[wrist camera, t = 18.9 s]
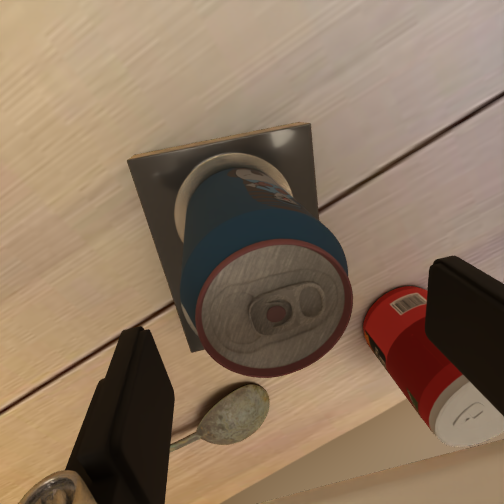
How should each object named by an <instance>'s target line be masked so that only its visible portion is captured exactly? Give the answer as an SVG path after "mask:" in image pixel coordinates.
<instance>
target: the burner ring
mask: <svg viewBox="0 0 504 504" xmlns="http://www.w3.org/2000/svg"><path fill="white" fill-rule="evenodd" d="M232 168H248V169H253V170H256V171H259V172H262V173H264V174H266V175H267V176H269V177H271V178H272V179H273V180H274V181H275V182H277V183H278V184H279V185H280V186H281V187H282V188H283V189H284V190H285V191H287V192H288V193H289V194H290V195H291V196H292V197H293V194H292V191H291V188H290V186H289V184H288V182H287V181H286V179H285V178H284V176H283V175H282V174H281V173H280V172H279V171H278V169H276V168H275V167H274V166H273V165H272V164H270V163H269V162H267V161H265V160H264V159H261V158H259V157H257V156H254V155H250V154H245V153H227V154H221V155H218V156H214V157H212V158H210V159H207V160H206V161H204V162H202V163H201V164H199V165H198V166H197V167H196V168H194V169H193V170H192V171H191V172H190V173H189V175H188V176H187V177H186V179H185V180H184V181H183V183H182V185H181V187H180V189H179V191H178V194H177V197H176V202H175V209H174V217H175V224H176V229H177V232H178V234H179V237H180V239H181V241H182V242H183V244H184V231H185V219H186V211H187V207H188V204H189V201H190V199H191V197H192V195H193V193H194V192H195V190H196V189H197V188H198V187H199V186H200V185H201V184H202V183H203V182H204V181H205V180H206V179H208V178H209V177H211V176H212V175H214V174H216V173H218V172H221V171H224V170H227V169H232Z"/></svg>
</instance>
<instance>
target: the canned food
mask: <svg viewBox="0 0 504 504" xmlns="http://www.w3.org/2000/svg"><path fill="white" fill-rule="evenodd" d="M426 304H427V290H425V289H422V288H419V287H414V286H405V287H400V288H397V289H394V290H391V291H390V292H388V293H386V294H384V295H383V296H382V297H380V298H379V299H378V300H377V301H376V302H375V303H374V304H373V305H372V306H371V308H370V309H369V311H368V312H367V314H366V316H365V320H364V324H363V330H364V335H365V339H366V342H367V344H368V345H369V347H370V348H371V350H372V351H373V352H374V354H375V355H376V356H377V358H378V359H379V360H380V362H381V363H382V365H383V366H384V367H385V369H386V370H387V371H388V373H389V374H390V376H391V377H392V378H393V380H394V381H395V382H396V384H397V385H398V387H399V388H400V389H401V391H402V392H403V393H404V395H405V396H406V397H407V399H408V400H409V402H410V403H411V404H412V406H413V407H414V408H415V410H416V411H417V412H418V414H419V415H420V417H421V418H422V419H423V420H424V421H425V423H426V424H427V426H428V427H429V428H430V430H431V431H432V432H433V433H434V434H435V435H436V436H437V438H438V439H439V440H440V441H441V442H442V443H444V444H446V445H449V446H454V447H465V446H471V445H475V444H479V443H482V442H485V441H487V440H490V439H492V438H494V437H496V436H498V435H499V434H501V433H503V432H504V416H503V415H502V414H501V413H500V412H499V411H498V410H497V409H496V408H495V407H494V406H493V405H492V404H491V403H490V402H489V401H488V400H487V399H486V398H485V397H484V396H483V395H482V394H481V393H480V392H479V391H478V390H477V389H476V388H475V386H474V385H473V384H472V383H471V382H470V381H469V380H468V379H467V378H466V377H465V376H464V375H463V374H462V373H461V372H460V371H459V370H458V369H457V368H456V367H455V366H454V365H453V364H452V363H451V362H450V361H449V360H448V359H447V358H446V357H445V356H444V355H443V353H442V352H441V351H440V350H439V349H438V348H437V347H436V346H435V345H434V344H433V343H432V342H431V341H430V340H429V339H428V338H427V336H426V333H425V316H426Z"/></svg>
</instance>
